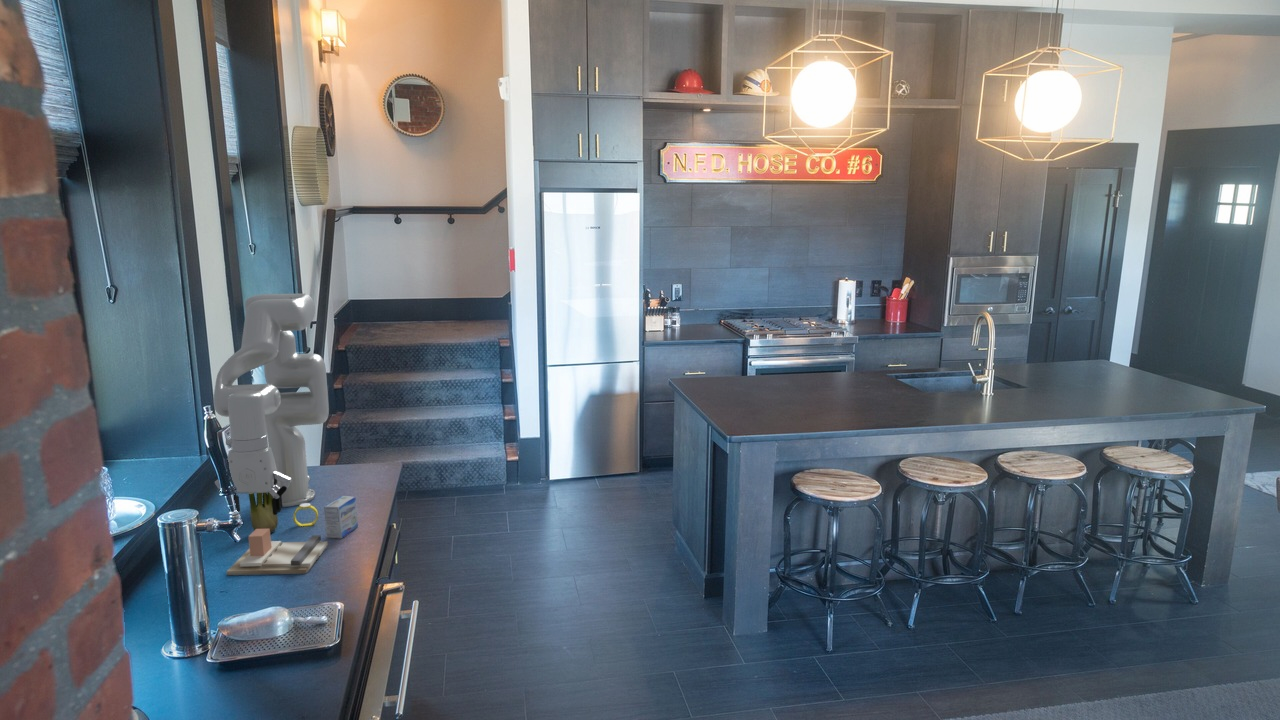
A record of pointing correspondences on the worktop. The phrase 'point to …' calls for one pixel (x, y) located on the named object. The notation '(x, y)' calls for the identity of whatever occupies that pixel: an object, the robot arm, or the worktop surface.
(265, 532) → the terracotta pink brick
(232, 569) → the board
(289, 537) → the worktop surface
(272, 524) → the fennel bulb
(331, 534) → the medicine box
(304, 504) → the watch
